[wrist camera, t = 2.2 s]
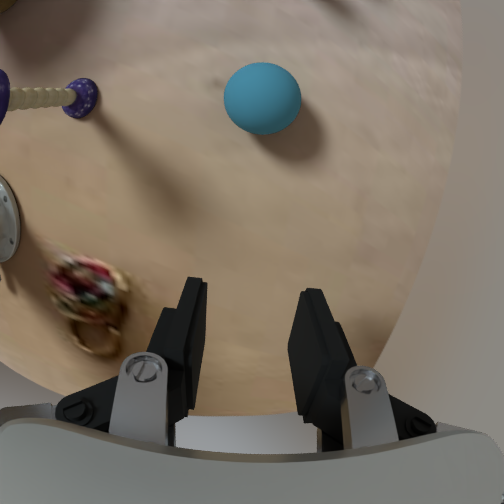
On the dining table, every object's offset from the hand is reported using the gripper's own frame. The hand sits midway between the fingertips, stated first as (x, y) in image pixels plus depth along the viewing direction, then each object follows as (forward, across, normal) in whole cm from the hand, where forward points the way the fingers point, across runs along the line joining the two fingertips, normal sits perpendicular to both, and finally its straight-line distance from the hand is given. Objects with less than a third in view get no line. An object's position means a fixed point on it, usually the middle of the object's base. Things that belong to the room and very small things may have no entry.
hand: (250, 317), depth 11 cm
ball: (+14, 0, -10) cm, 17 cm away
